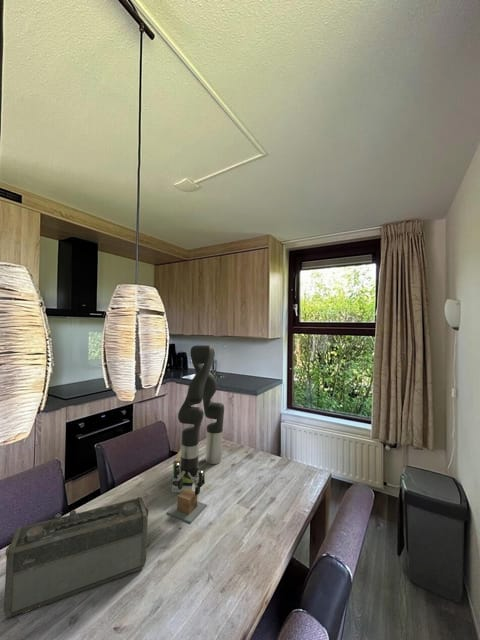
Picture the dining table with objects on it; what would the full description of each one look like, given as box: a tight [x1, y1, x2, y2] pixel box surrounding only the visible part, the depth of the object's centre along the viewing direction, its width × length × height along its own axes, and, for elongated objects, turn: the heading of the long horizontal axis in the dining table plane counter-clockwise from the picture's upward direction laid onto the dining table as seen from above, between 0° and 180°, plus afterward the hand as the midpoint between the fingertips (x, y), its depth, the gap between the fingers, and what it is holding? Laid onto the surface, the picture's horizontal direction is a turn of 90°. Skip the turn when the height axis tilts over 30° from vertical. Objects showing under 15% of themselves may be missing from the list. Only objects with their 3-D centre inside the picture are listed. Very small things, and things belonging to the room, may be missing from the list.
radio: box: [3, 496, 149, 618], centre depth 87 cm, size 38×14×20 cm, turn 118°
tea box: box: [171, 447, 199, 494], centre depth 137 cm, size 15×10×15 cm, turn 179°
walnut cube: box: [177, 489, 199, 515], centre depth 119 cm, size 6×6×6 cm
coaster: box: [166, 500, 208, 524], centre depth 119 cm, size 12×12×1 cm
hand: (188, 491), depth 119 cm, fingers open, 8 cm apart
